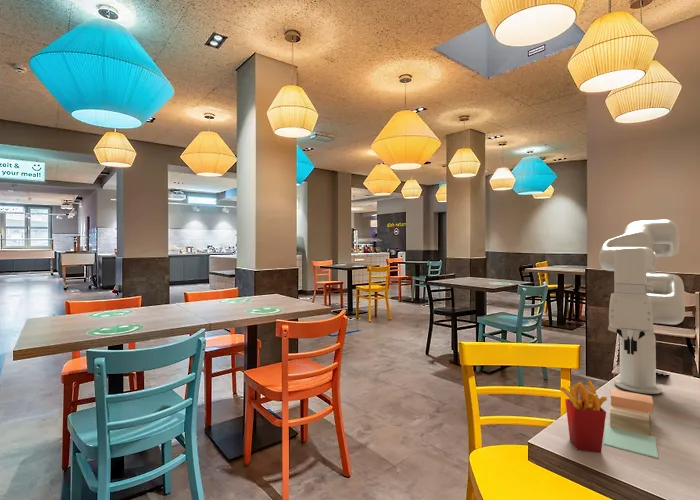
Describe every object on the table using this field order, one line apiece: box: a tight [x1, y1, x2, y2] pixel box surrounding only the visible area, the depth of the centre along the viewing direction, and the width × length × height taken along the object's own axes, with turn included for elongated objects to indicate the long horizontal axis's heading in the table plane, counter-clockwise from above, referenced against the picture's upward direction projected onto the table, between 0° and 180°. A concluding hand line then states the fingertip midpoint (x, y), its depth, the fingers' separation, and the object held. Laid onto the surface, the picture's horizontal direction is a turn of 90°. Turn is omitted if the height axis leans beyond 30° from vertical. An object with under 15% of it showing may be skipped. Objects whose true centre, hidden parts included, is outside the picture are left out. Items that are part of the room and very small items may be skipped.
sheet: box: [609, 404, 651, 436], centre depth 101 cm, size 16×8×4 cm, turn 144°
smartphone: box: [656, 369, 669, 376], centre depth 137 cm, size 7×15×1 cm, turn 133°
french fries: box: [559, 380, 608, 454], centre depth 89 cm, size 9×8×15 cm
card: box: [610, 388, 654, 414], centre depth 101 cm, size 6×9×2 cm, turn 54°
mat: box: [603, 425, 659, 459], centre depth 90 cm, size 11×10×1 cm
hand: (630, 353), depth 108 cm, fingers closed
